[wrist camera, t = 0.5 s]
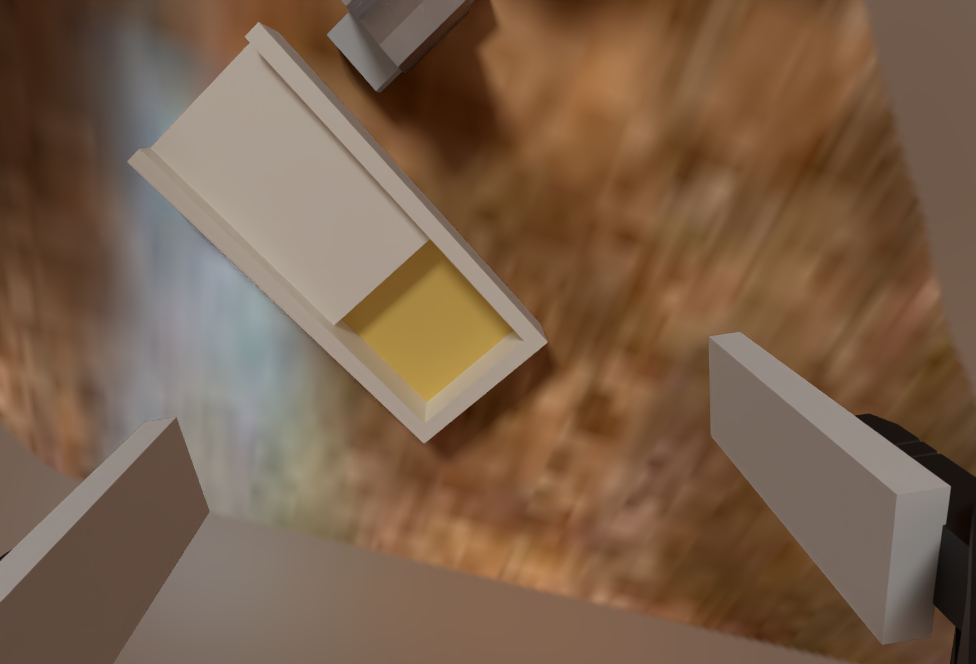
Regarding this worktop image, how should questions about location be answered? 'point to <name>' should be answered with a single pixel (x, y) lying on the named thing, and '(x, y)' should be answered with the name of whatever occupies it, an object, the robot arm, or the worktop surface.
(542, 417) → the worktop surface
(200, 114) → the box with sliding lid
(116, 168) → the worktop surface
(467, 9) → the clip
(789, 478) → the robot arm
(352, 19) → the grey tall rectangular block
